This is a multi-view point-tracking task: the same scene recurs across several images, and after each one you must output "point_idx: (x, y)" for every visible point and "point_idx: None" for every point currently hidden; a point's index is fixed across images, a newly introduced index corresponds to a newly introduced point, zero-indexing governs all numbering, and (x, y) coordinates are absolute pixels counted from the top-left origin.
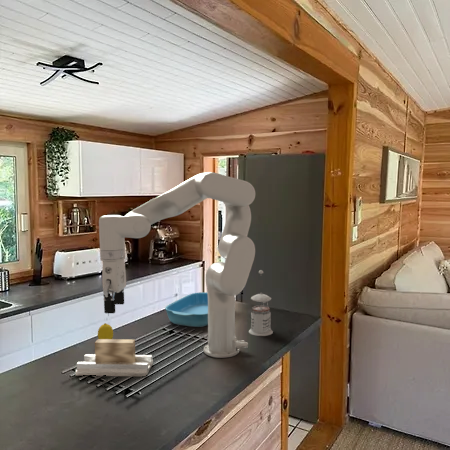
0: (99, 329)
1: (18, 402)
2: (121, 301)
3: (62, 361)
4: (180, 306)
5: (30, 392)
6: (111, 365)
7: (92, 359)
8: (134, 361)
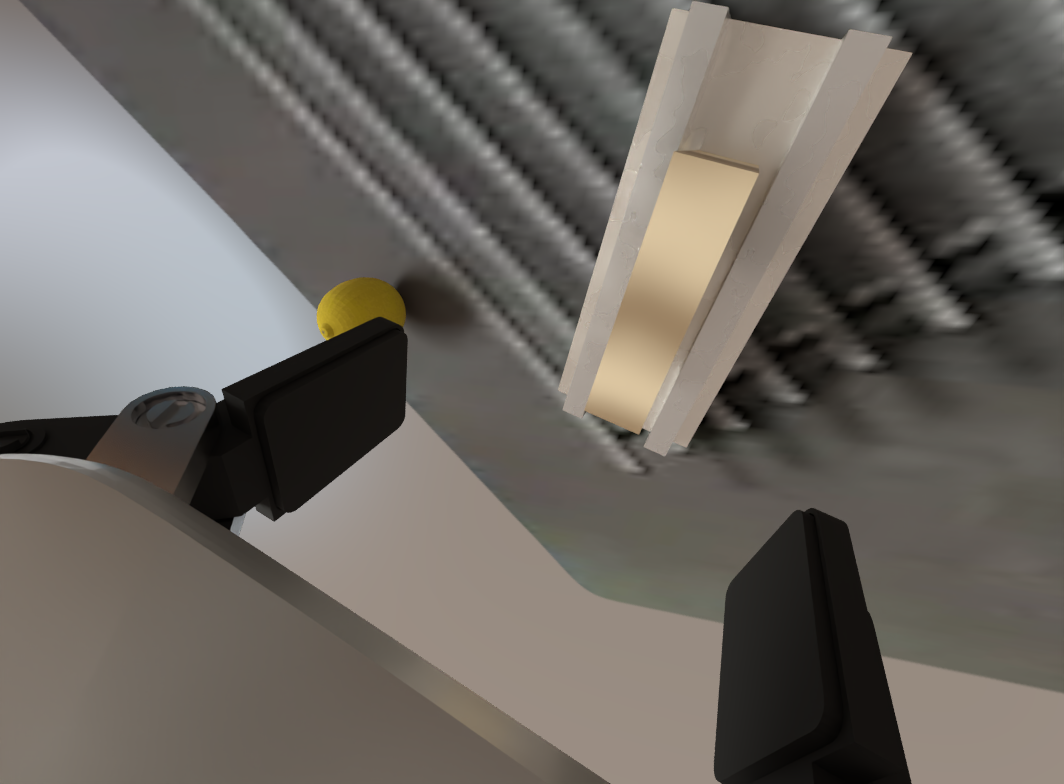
0: None
1: None
2: (381, 365)
3: (537, 458)
4: None
5: None
6: (745, 306)
7: None
8: (719, 156)
